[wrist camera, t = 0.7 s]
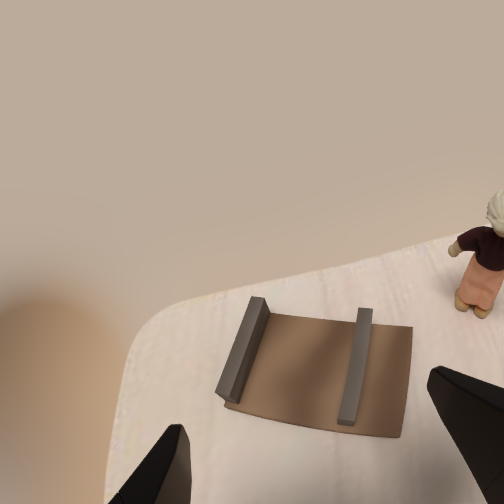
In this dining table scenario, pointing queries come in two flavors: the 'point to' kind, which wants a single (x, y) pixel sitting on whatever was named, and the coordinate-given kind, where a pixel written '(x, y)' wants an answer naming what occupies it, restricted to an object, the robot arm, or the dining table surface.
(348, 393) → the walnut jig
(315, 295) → the dining table surface
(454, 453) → the dining table surface
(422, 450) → the dining table surface
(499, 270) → the grandmother figurine
